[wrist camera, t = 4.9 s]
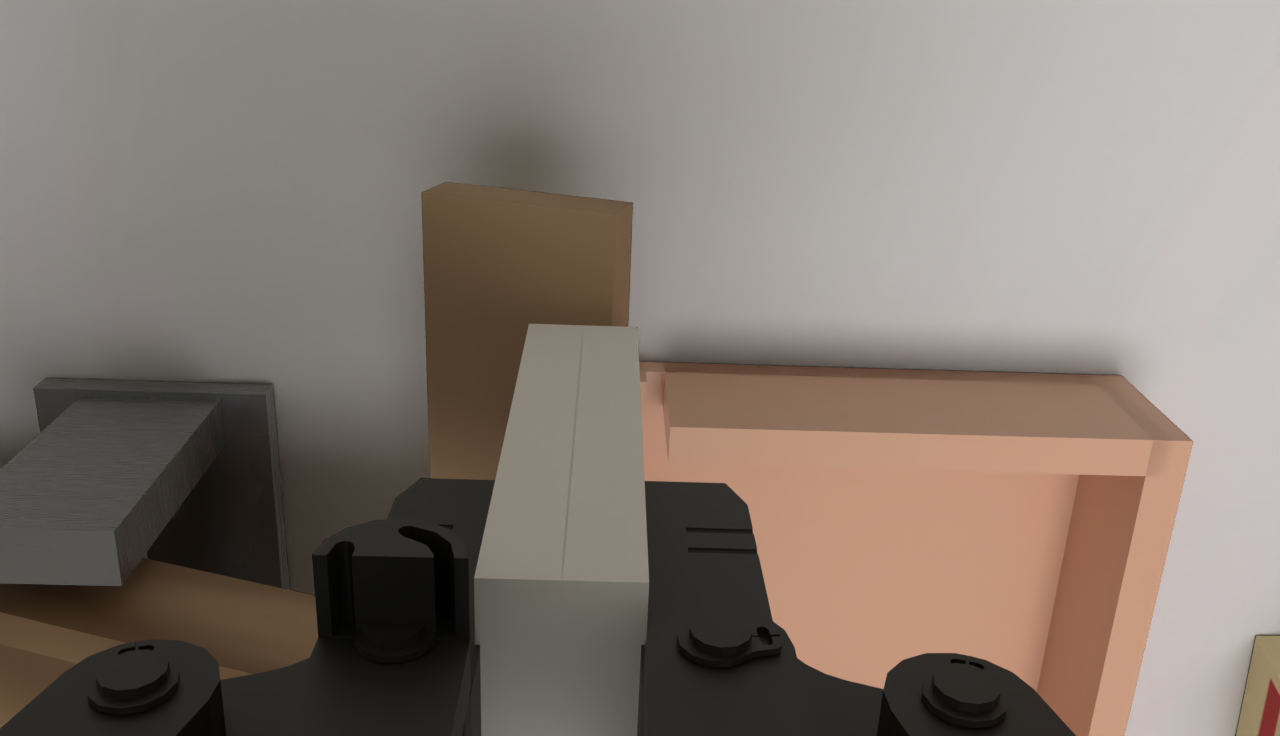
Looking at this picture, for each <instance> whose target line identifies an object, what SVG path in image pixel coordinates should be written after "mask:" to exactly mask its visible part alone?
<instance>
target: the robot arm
mask: <svg viewBox="0 0 1280 736" xmlns="http://www.w3.org/2000/svg"><path fill="white" fill-rule="evenodd" d="M312 560H313V574H314V587H315V601H316V614H317V628H318V639H317V641H316V644H315V646H314V649H313V651H312V653H311V656H310V658H307V659H305V660H302V661H300V662H297V663H295V664H293V665H290V666H287V667H283V668H279V669H275V670H271V671H267V672H262V673H257V674H251V675H246V676H240V677H235V678H229V679H223V680H220V672H219V663H218V661H217V660H216V659H215V658H214V657H213V656H212V655H211V654H210V653H209V652H208V651H207V650H206V649H205V648H202V647H199V646H196V645H193V644H190V643H187V642H184V641H180V640H159V639H150V640H141V641H138V642H135V641H134V642H129V643H125V644H120V645H117V646H115V647H112V648H109V649H107V650H104V651H101V652H99V653H96V654H93V655H91V656H88V657H87V658H85V659H84V660H82V661H81V662H79V663H78V664H76V665H75V666H73V667H72V668H70V669H69V670H67V671H65V672H64V673H63V674H62V675H60V676H59V677H58V678H57V679H56V680H55V681H54V682H52V683H51V684H50V685H49V686H48V687H47V688H46V689H44V690H43V691H42V692H41V693H40V694H39V695H38V696H36V697H35V698H34V699H33V700H32V701H31V702H30V703H29V704H27V705H26V706H25V707H24V708H23V709H22V710H21V711H19V712H18V713H17V714H16V715H15V716H14V717H13V718H11V719H10V720H9V721H8V722H7V723H6V724H5V725H3V726H2V727H1V728H0V736H1076V735H1075V734H1074V733H1073V732H1072V731H1071V730H1070V728H1069V727H1068V726H1067V725H1066V724H1065V723H1064V722H1063V721H1062V720H1061V719H1060V717H1059V716H1058V715H1057V714H1056V713H1055V712H1054V711H1053V710H1052V709H1051V707H1050V706H1049V705H1048V704H1047V703H1046V702H1045V701H1044V700H1043V699H1042V698H1041V696H1040V695H1039V694H1038V693H1037V692H1036V691H1035V690H1034V689H1033V688H1032V687H1030V686H1029V685H1028V684H1027V683H1025V682H1024V681H1023V680H1022V679H1020V678H1019V677H1018V676H1017V675H1015V674H1014V673H1013V672H1011V671H1009V670H1007V669H1004V668H1002V667H1000V666H998V665H996V664H993V663H991V662H989V661H987V660H984V659H980V658H976V657H973V656H966V655H962V654H957V653H925V654H921V655H918V656H915V657H911V658H908V659H904V660H902V661H901V662H900V663H898V664H897V665H896V666H895V667H894V668H893V669H891V670H890V671H889V672H888V673H887V677H886V681H885V685H884V689H881V688H877V687H873V686H868V685H864V684H860V683H855V682H851V681H847V680H844V679H841V678H837V677H834V676H831V675H828V674H825V673H823V672H821V671H819V670H817V669H815V668H812V667H810V666H808V665H806V664H805V663H803V662H802V661H801V660H799V659H798V658H797V656H796V651H795V647H794V645H793V643H792V642H791V640H790V638H789V636H788V635H787V633H786V631H785V630H784V629H783V628H781V627H780V626H779V625H777V624H776V623H775V622H773V619H772V615H771V610H770V606H769V601H768V596H767V592H766V587H765V583H764V578H763V573H762V569H761V564H760V559H759V555H758V554H757V546H756V541H755V536H754V534H753V527H752V523H751V518H750V513H749V509H748V505H747V504H746V503H745V502H744V501H743V500H742V499H741V498H740V497H739V496H738V495H737V494H736V493H735V492H734V491H733V490H732V489H731V488H730V487H729V486H728V485H727V484H726V483H704V482H667V481H645V480H644V458H643V436H642V414H641V392H640V370H639V348H638V327H621V326H589V325H557V324H529V326H528V331H527V335H526V340H525V344H524V349H523V354H522V358H521V363H520V368H519V372H518V377H517V382H516V386H515V391H514V395H513V400H512V405H511V409H510V414H509V419H508V423H507V428H506V433H505V437H504V442H503V446H502V451H501V456H500V460H499V465H498V470H497V474H496V479H495V480H473V479H436V478H421V479H419V480H418V481H417V482H415V483H414V484H413V485H412V486H410V487H409V488H408V489H407V490H405V491H404V492H403V493H402V494H400V495H399V496H398V497H397V498H395V500H394V503H393V505H392V508H391V510H390V513H389V516H388V518H387V520H377V521H371V522H368V523H364V524H360V525H356V526H353V527H349V528H346V529H344V530H342V531H340V532H339V533H337V534H335V535H333V536H331V537H329V538H327V539H326V540H324V542H323V543H322V544H321V545H320V546H319V547H318V548H317V550H316V551H315V552H314V553H313V554H312Z"/></svg>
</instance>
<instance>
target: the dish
mask: <svg viewBox="0 0 1280 736" xmlns="http://www.w3.org/2000/svg"><path fill="white" fill-rule="evenodd" d="M639 370H640V392H641V414H642V436H643V458H644V480H645V481H667V482H704V483H726V484H727V485H728V486H729V487H730V488H731V489H732V490H733V491H734V492H735V493H736V494H737V495H738V496H739V497H740V498H741V499H742V500H743V501H744V502H745V503H746V504H747V505H748V509H749V513H750V518H751V523H752V527H753V534H754V536H755V541H756V546H757V554H758V555H759V559H760V564H761V569H762V573H763V578H764V583H765V587H766V592H767V596H768V601H769V606H770V610H771V615H772V619H773V622H775V623H776V624H777V625H779V626H780V627H781V628H783V629H784V630H785V631H786V633H787V635H788V636H789V638H790V640H791V642H792V643H793V645H794V647H795V651H796V656H797V658H798V659H799V660H801V661H802V662H803V663H805V664H806V665H808V666H810V667H812V668H815V669H817V670H819V671H821V672H823V673H825V674H828V675H831V676H834V677H837V678H841V679H844V680H847V681H851V682H855V683H860V684H864V685H868V686H873V687H877V688H881V689H884V685H885V681H886V677H887V673H888V672H889V671H890V670H891V669H893V668H894V667H895V666H896V665H897V664H898V663H900V662H901V661H902V660H904V659H908V658H911V657H915V656H918V655H921V654H925V653H957V654H962V655H966V656H973V657H976V658H980V659H984V660H987V661H989V662H991V663H993V664H996V665H998V666H1000V667H1002V668H1004V669H1007V670H1009V671H1011V672H1013V673H1014V674H1015V675H1017V676H1018V677H1019V678H1020V679H1022V680H1023V681H1024V682H1025V683H1027V684H1028V685H1029V686H1030V687H1032V688H1033V689H1034V690H1035V691H1036V692H1037V693H1038V694H1039V695H1040V696H1041V698H1042V699H1043V700H1044V701H1045V702H1046V703H1047V704H1048V705H1049V706H1050V707H1051V709H1052V710H1053V711H1054V712H1055V713H1056V714H1057V715H1058V716H1059V717H1060V719H1061V720H1062V721H1063V722H1064V723H1065V724H1066V725H1067V726H1068V727H1069V728H1070V730H1071V731H1072V732H1073V733H1074V734H1075V735H1076V736H1124V735H1125V731H1126V727H1127V723H1128V718H1129V714H1130V710H1131V705H1132V701H1133V697H1134V693H1135V688H1136V684H1137V680H1138V676H1139V671H1140V667H1141V663H1142V658H1143V654H1144V650H1145V646H1146V641H1147V637H1148V633H1149V628H1150V624H1151V620H1152V616H1153V611H1154V607H1155V603H1156V599H1157V594H1158V590H1159V586H1160V581H1161V577H1162V573H1163V569H1164V564H1165V560H1166V556H1167V552H1168V547H1169V543H1170V539H1171V534H1172V530H1173V526H1174V522H1175V517H1176V513H1177V509H1178V504H1179V500H1180V496H1181V492H1182V487H1183V483H1184V479H1185V475H1186V470H1187V466H1188V462H1189V457H1190V453H1191V449H1192V445H1193V441H1192V440H1191V439H1190V438H1189V437H1188V436H1187V435H1186V434H1185V433H1184V432H1183V431H1182V430H1181V429H1179V428H1178V427H1177V426H1176V425H1175V424H1174V423H1173V422H1172V421H1171V420H1170V419H1169V418H1167V417H1166V416H1165V415H1164V414H1163V413H1162V412H1161V411H1160V410H1159V409H1158V408H1157V407H1155V406H1154V405H1153V404H1152V403H1151V402H1150V401H1149V400H1148V399H1147V398H1146V397H1145V396H1144V395H1142V394H1141V393H1140V392H1139V391H1138V390H1137V389H1136V388H1135V387H1134V386H1133V385H1132V384H1130V383H1129V382H1128V381H1127V380H1126V379H1125V378H1124V377H1123V376H1117V375H1083V374H1049V373H1014V372H980V371H945V370H911V369H876V368H842V367H808V366H773V365H739V364H704V363H670V362H639Z"/></svg>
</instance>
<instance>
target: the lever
mask: <svg viewBox="0 0 1280 736" xmlns="http://www.w3.org/2000/svg"><path fill="white" fill-rule="evenodd" d="M632 214H633V203H632V202H623V201H614V200H605V199H596V198H587V197H578V196H569V195H560V194H551V193H542V192H533V191H524V190H515V189H506V188H497V187H488V186H479V185H470V184H460V183H451V182H444V183H442V184H440V185H437V186H435V187H433V188H431V189H428V190H426V191H424V192H422V227H423V260H424V293H425V326H426V359H427V393H428V426H429V459H430V478H436V479H473V480H495V479H496V474H497V470H498V465H499V460H500V456H501V451H502V446H503V442H504V437H505V433H506V428H507V423H508V419H509V414H510V409H511V405H512V400H513V395H514V391H515V386H516V382H517V377H518V372H519V368H520V363H521V358H522V354H523V349H524V344H525V340H526V335H527V331H528V326H529V324H557V325H589V326H621V327H628V321H629V294H630V267H631V240H632ZM150 639H159V640H180V641H184V642H187V643H190V644H193V645H196V646H199V647H202V648H205V649H206V650H207V651H208V652H209V653H210V654H211V655H212V656H213V657H214V658H215V659H216V660H217V661H218V663H219V672H220V680H223V679H229V678H235V677H240V676H246V675H251V674H257V673H262V672H267V671H271V670H275V669H279V668H283V667H287V666H290V665H293V664H295V663H297V662H300V661H302V660H305V659H307V658H310V656H311V653H312V651H313V649H314V646H315V644H316V641H317V639H318V628H317V614H316V601H315V596H314V595H310V594H305V593H301V592H296V591H292V590H287V589H283V588H278V587H273V586H269V585H264V584H260V583H255V582H251V581H246V580H242V579H237V578H233V577H228V576H224V575H219V574H214V573H210V572H205V571H201V570H196V569H192V568H187V567H183V566H178V565H174V564H169V563H165V562H160V561H155V560H151V559H148V556H147V552H146V554H145V555H144V557H143V558H142V559H141V561H140V562H139V563H138V565H137V566H136V568H135V569H134V570H133V572H132V573H131V574H130V576H129V577H128V578H127V580H126V581H125V583H124V584H123V585H122V586H91V585H46V584H1V583H0V728H1V727H2V726H3V725H5V724H6V723H7V722H8V721H9V720H10V719H11V718H13V717H14V716H15V715H16V714H17V713H18V712H19V711H21V710H22V709H23V708H24V707H25V706H26V705H27V704H29V703H30V702H31V701H32V700H33V699H34V698H35V697H36V696H38V695H39V694H40V693H41V692H42V691H43V690H44V689H46V688H47V687H48V686H49V685H50V684H51V683H52V682H54V681H55V680H56V679H57V678H58V677H59V676H60V675H62V674H63V673H64V672H65V671H67V670H69V669H70V668H72V667H73V666H75V665H76V664H78V663H79V662H81V661H82V660H84V659H85V658H87V657H88V656H91V655H93V654H96V653H99V652H101V651H104V650H107V649H109V648H112V647H115V646H117V645H120V644H125V643H129V642H134V641H135V642H138V641H141V640H150Z"/></svg>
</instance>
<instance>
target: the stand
mask: <svg viewBox="0 0 1280 736" xmlns="http://www.w3.org/2000/svg"><path fill="white" fill-rule="evenodd" d="M33 389H34V395H35V401H36V408H37V414H38V420H39V426H40V432H41V433H40V434H39V435H38V436H36V437H35V438H34V439H33V440H32V441H31V442H30V443H29V444H28V445H27V446H25V447H24V448H23V449H22V450H21V451H20V452H19V453H18V454H17V455H16V456H14V457H13V458H12V459H11V460H10V461H9V462H8V463H7V464H6V465H5V466H3V467H2V468H1V469H0V583H1V584H46V585H91V586H122V585H123V584H124V583H125V581H126V580H127V578H128V577H129V576H130V574H131V573H132V572H133V570H134V569H135V568H136V566H137V565H138V563H139V562H140V561H141V559H142V558H143V557H144V555H145V554H146V552H147V556H148V559H151V560H155V561H160V562H165V563H169V564H174V565H178V566H183V567H187V568H192V569H196V570H201V571H205V572H210V573H214V574H219V575H224V576H228V577H233V578H237V579H242V580H246V581H251V582H255V583H260V584H264V585H269V586H273V587H278V588H283V589H287V590H290V584H289V572H288V560H287V547H286V535H285V523H284V511H283V499H282V487H281V475H280V462H279V450H278V438H277V426H276V414H275V402H274V390H273V384H242V383H206V382H171V381H135V380H100V379H64V378H45V379H44V380H43V381H42V382H40V383H39V384H38V385H37V386H36V387H34V388H33Z"/></svg>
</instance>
